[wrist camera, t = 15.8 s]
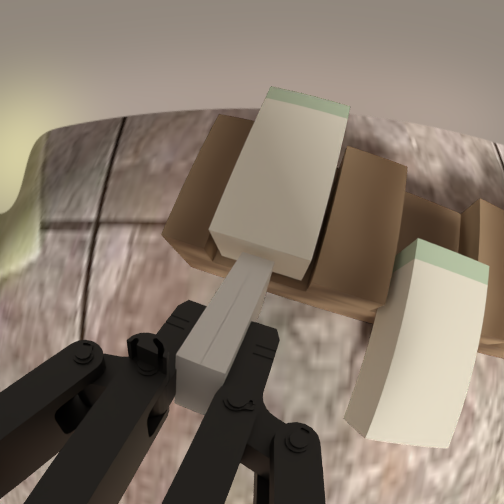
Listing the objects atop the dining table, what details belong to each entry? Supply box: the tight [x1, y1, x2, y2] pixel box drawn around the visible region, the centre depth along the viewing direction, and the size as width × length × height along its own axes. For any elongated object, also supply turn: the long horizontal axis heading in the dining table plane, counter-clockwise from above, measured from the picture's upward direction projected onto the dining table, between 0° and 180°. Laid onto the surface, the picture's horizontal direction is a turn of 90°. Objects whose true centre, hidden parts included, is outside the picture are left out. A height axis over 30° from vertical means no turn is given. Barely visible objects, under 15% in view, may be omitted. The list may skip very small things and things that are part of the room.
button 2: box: [209, 87, 350, 280], centre depth 16 cm, size 4×9×4 cm, turn 161°
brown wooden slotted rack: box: [161, 114, 504, 359], centre depth 17 cm, size 28×8×6 cm, turn 71°
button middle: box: [343, 238, 489, 449], centre depth 13 cm, size 4×9×4 cm, turn 161°
